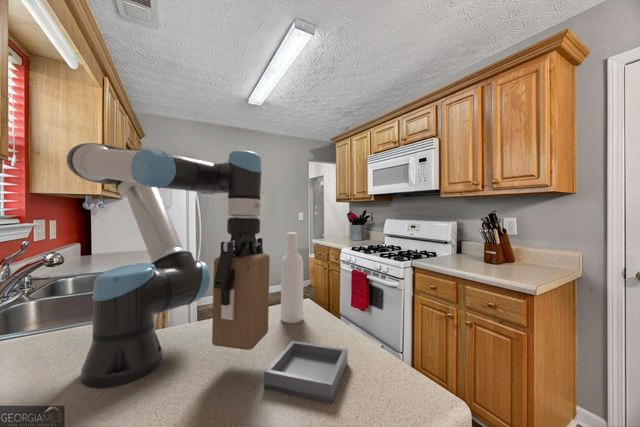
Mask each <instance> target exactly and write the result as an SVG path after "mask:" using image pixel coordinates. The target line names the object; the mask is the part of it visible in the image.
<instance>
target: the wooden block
mask: <svg viewBox="0 0 640 427" xmlns="http://www.w3.org/2000/svg"><path fill="white" fill-rule="evenodd" d="M234 256H235V255H234ZM219 258H220V256H217V257H215V258H214V260H213V280H212V281H213V284H212V286H213V285H214V280H215V276H216V271H217V267H218V262H219ZM270 259H271V257H270V255H269V254H267V253H263V254H261V253H257V254H251V255H247V256H245V257H242V258H236V257H233V258H232V263H231V268H230V269H235V280H234V283H233V286H232V289H234V319H233V320H227V319H221V290H220V289H217V288H214V287H212V288H213V289H212V290H213V293H212V326H211V328H212V335H211V336H212V337H211V342H212V345H213V346H214V347H222V348H230V349H238V350H245V351H250V350H252V349H254V348H255V347H256V345H257V344H259V343H260V342H261V340H262V339H263V338H264V337H265V336H266V335H267V334H268V331H269V312H270V311H269V309H270V308H269V306H270V304H269V302H270V298H269V297H270V263H271V262H270V261H271V260H270ZM227 284H228V283H227Z"/></svg>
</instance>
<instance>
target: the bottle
mask: <svg viewBox="0 0 640 427" xmlns="http://www.w3.org/2000/svg"><path fill="white" fill-rule="evenodd" d="M298 238H299V235H298V232H287V234H286V241H287V242H286V243H287V244H286V248H287V249H286V253H285V254H284V256H282V260H281V263H280V321H282V323H283V322H284V323H286V324H296V323H300V322H302V320H304V260H303V257H302V256H301V254H299V253H298Z"/></svg>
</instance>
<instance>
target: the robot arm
mask: <svg viewBox="0 0 640 427" xmlns="http://www.w3.org/2000/svg"><path fill="white" fill-rule="evenodd" d="M66 164H67V167H68V168H69V170H70V172H72V173H73V174H74V175H75V176H77V177H79V178H80V179H83V180H85V181H88V182H90V183H91V182H93V183H96V184H105V185H114V186H115V187H116V189H117V191H118V193H119V194H120V195H121V196H122V197H124V198H127V201H128V203H129V206H130V208H131V211H132V214H133V216H134V220H135V222H136V224H137V227H138V230H139V233H140V235H141V237H142V240H143V242H144V245H145V248H146V250H147V253H148V256H149V258H150V261H151V262H150V263H148V262H146V263H145V262H144V263H143V262H142V263H135V264H127V265H122V266H117V267H114V268H111V269H108V270H106V271H103V272H102V273H100V274H99V275H98V276H97V277H96V278H95V280H94V282H93V290H92V291H93V292H92V295H91V298H92V341H91V344H90V347H89V349H88V352H87V355H86V357H85V360H84V364H83V365H82V366H81V370H80V375H81V376H80V378H81V379H80V381H81V384H82V385H83V386H84V387H88V388H92V389H95V388H96V389H103V388H110V387H111V388H112V387H115V386H121V385H125V384H127V383H130V382H133V381H135V380H138V379H140V378H142V377H145V376H147V375H149V374H150V373H151V372H153V371H155V370H156V369H157V368H158V367H159V366H160V365H161V363H162V361H163V349H162V346H161V344H160V341H159V338H158V335H157V333H156V329H155V315H157V314H161V313H164V312H167V311H170V310H171V311H172V310H174V309H176V308H180V307H183V306H188V305H191V304H194V303H195V302H197V301H201V300H202V299H203V298H204V297H205V296H206V294H207V293H208V291H209V288H210V283H211V273H210V269H209V267H208V265H207V264H206V262H205V261H202V260H199V259H195V258H194V256H193V253H192V251H190V250H188V249H185V248H184V247H183V245H182V242H181V240H180V238H179V235H178V233H177V230H176V228H175V226H174V224H173V222H172V219H171V217H170V214H169V212H168V210H167V208H166V204H165V202H164V200H163V198H162V196H161V192H160V191H159V189H169V190H177V191H178V190H179V191H180V190H181V191H188V192H197V193H199V194H203V195H215V194H227V211H226V212H227V216H229V217H228V218H227V219H226V220H227V222H226V224H227V225H226V232H227V233H228V234H229V235H230V240H229V241H221V242H220V252H219V253H220V254H219V257H220V258H219V262H218V267H217V271H216V276H215V280H214V279H213V280H214V285H213V284H212V286H213V287H214V288H217V289H220V290H221V319H227V320H233V319H234V289H232V286H233V283H234V280H235V269H230V268H231V263H232V258H233V257H236V258H242V257H245V256H247V255H251V254H257V253H261V254H264V248H263V237H256V235H258V234H259V233H260V232H261V219H260V218H258V217H260V216H261V207H262V204H261V186H262V172H263V171H262V160H261V156H260V155H259V154H258V153H257V152H254V151H251V150H249V151H248V150H232V151H231V152H230V153H229V154H228V159H227V162H220V163H214V162H209V161H204V160H201V159H194V158H191V157H186V156H183V155H182V156H181V155H178V154H173V153H169V152H165V151H163V150H158V149H148V148H142V149H139V150H132V149H127V148H123V147H118V146H112V145H110V144H105V143H99V142H98V143H97V142H86V143H84V142H83V143H79V144H77V145H75V146H73V147H72V148H71V149H70V150H69V152H68V153H67V154H66ZM234 255H235V256H234ZM227 283H228V284H227ZM213 287H212V288H213Z"/></svg>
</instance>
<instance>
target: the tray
mask: <svg viewBox="0 0 640 427" xmlns="http://www.w3.org/2000/svg"><path fill="white" fill-rule="evenodd" d="M348 355H349V354H348V348H341V347H335V346H329V345H323V344H315V343H310V342H303V341H295V340H291V341H290V342H289V343H288V344H287V346H286V347H284V349H283V350H282V351H281V352H280V353H279V355H278V356H277V357H275V359H274V360H273V361H272V362H271V363H270V364H269V365H268V366H267V368H265V370H264V371H263V389H264V390H268V391H272V392H277V393H282V394H286V395H291V396H295V397H299V398H304V399H309V400H314V401H319V402H321V403H327V404H333V402H334V400H335V397H336V395H337V392H338V389H339V387H340V384H341V381H342V379H343V376H344V373H345V371H346V369H347V366H348V362H349V360H348Z"/></svg>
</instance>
